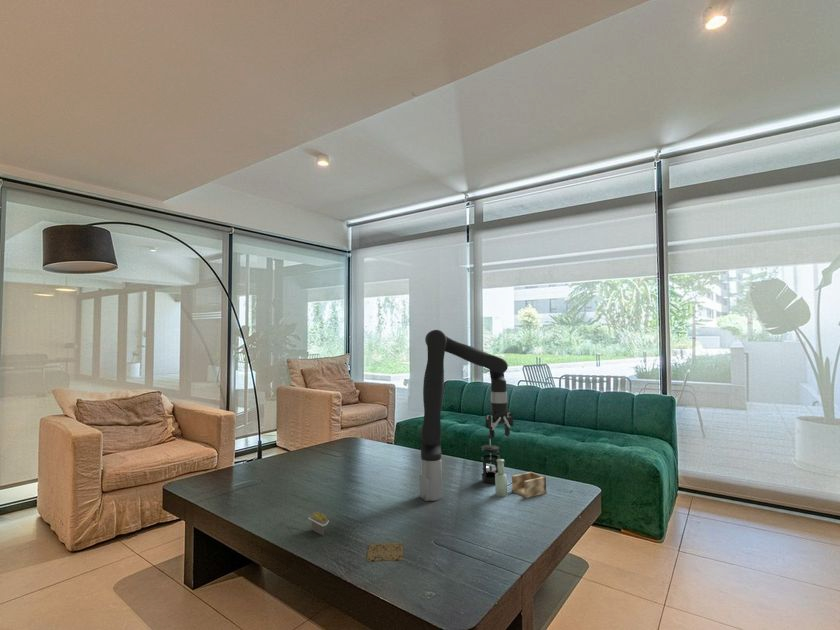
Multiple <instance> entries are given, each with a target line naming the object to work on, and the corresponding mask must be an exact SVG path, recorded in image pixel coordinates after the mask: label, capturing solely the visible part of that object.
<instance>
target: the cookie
mask: <svg viewBox="0 0 840 630" xmlns="http://www.w3.org/2000/svg"><path fill="white" fill-rule="evenodd" d="M403 560H404V542H383V543H379V542H377V543H369V545H368V551H367V555H366V562H367V563H369V562H395V561H397V562H401V561H403Z"/></svg>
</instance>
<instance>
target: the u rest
mask: <svg viewBox="0 0 840 630" xmlns="http://www.w3.org/2000/svg"><path fill="white" fill-rule="evenodd" d="M511 492H514V493H516V494H517V495H520V496H522V497H524V498H526V499H528V498H532V497H537V496H540V495H543V494H548V490H547V478H546V476H544V475H541V474H539V473H536V472H533V471H528V472H523V473H520V474H514V475H511Z"/></svg>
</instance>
